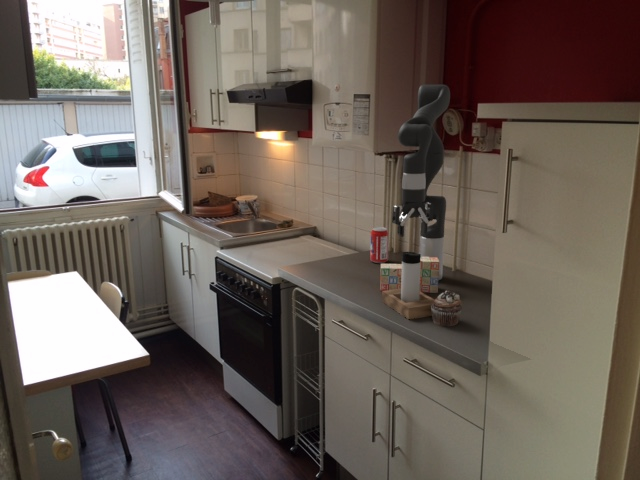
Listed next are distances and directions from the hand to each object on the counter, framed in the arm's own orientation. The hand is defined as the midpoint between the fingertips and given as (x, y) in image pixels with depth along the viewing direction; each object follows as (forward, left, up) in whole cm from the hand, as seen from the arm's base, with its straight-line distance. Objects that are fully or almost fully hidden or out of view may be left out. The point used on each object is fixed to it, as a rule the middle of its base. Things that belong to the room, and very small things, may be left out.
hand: (412, 235), depth 183 cm
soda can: (-55, +17, -26) cm, 63 cm away
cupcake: (+15, +4, -26) cm, 30 cm away
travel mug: (0, 0, -26) cm, 26 cm away
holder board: (0, 0, -26) cm, 26 cm away
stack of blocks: (-17, +10, -26) cm, 33 cm away
